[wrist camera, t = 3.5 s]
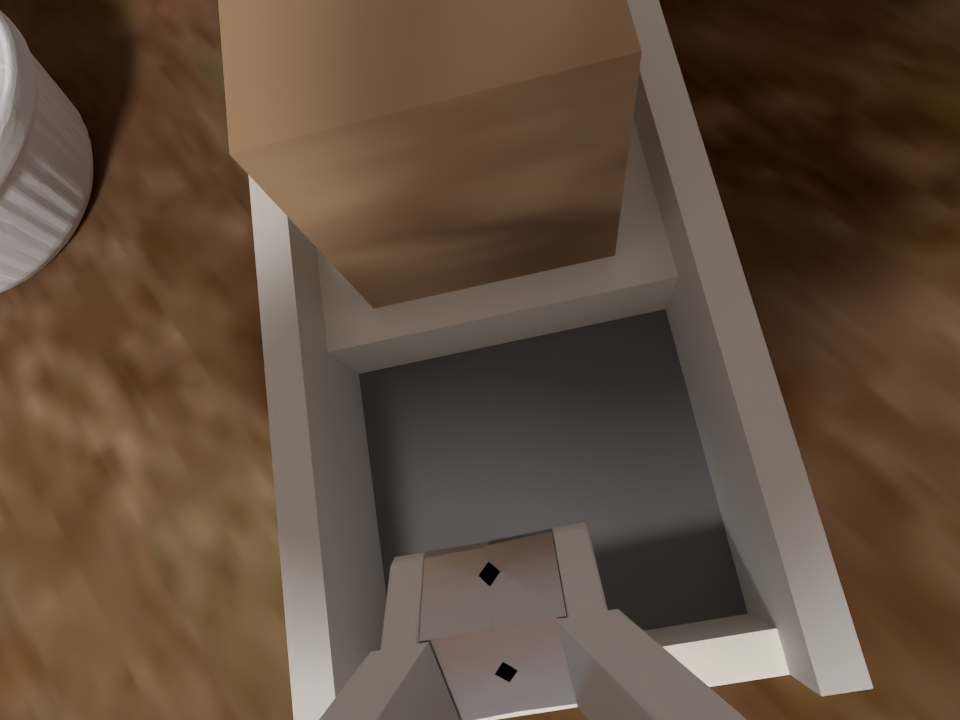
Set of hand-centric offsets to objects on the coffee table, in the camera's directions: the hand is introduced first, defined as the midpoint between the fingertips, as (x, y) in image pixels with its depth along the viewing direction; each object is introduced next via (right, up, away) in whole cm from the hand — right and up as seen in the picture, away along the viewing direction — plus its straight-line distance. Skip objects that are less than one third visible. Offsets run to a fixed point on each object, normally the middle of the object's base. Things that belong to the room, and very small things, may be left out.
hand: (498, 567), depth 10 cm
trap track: (-1, +13, +14) cm, 19 cm away
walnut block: (-1, +9, +9) cm, 13 cm away
